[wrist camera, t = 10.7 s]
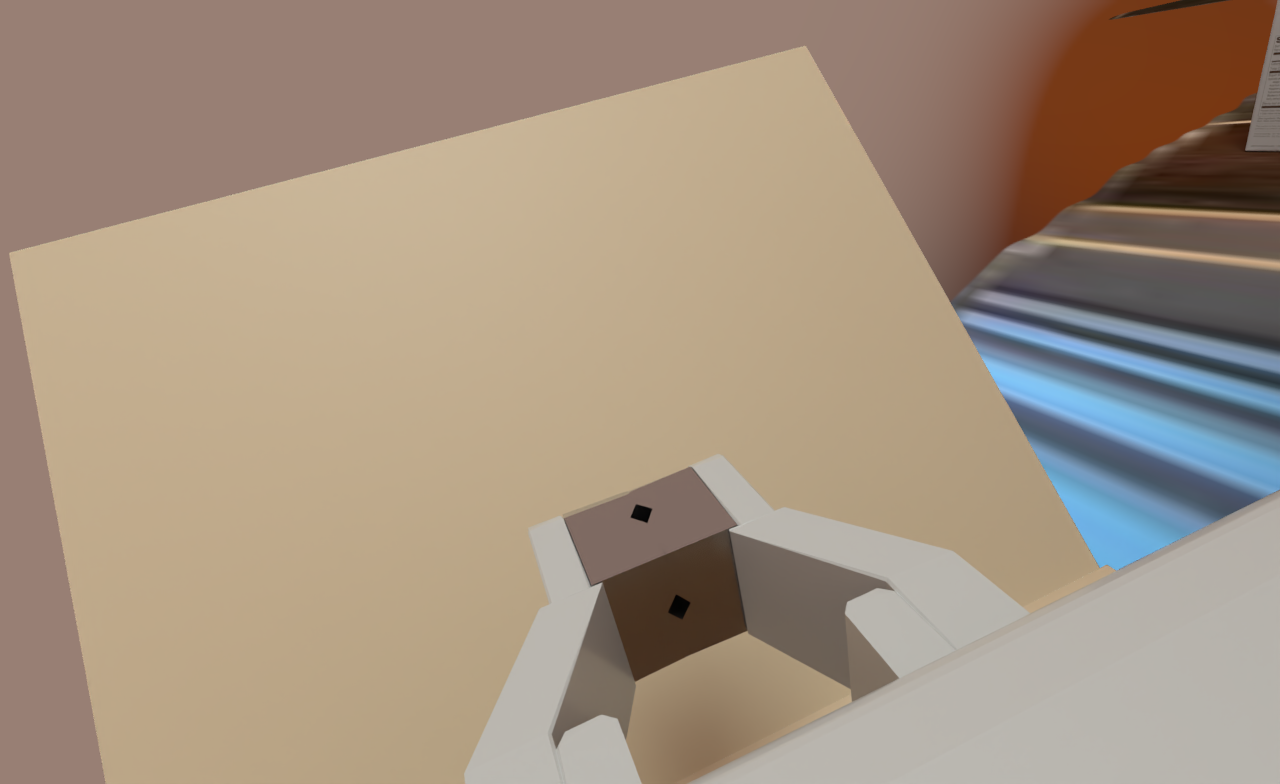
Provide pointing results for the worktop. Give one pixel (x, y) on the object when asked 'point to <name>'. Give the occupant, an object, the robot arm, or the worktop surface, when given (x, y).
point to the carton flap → (493, 423)
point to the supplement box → (1268, 97)
